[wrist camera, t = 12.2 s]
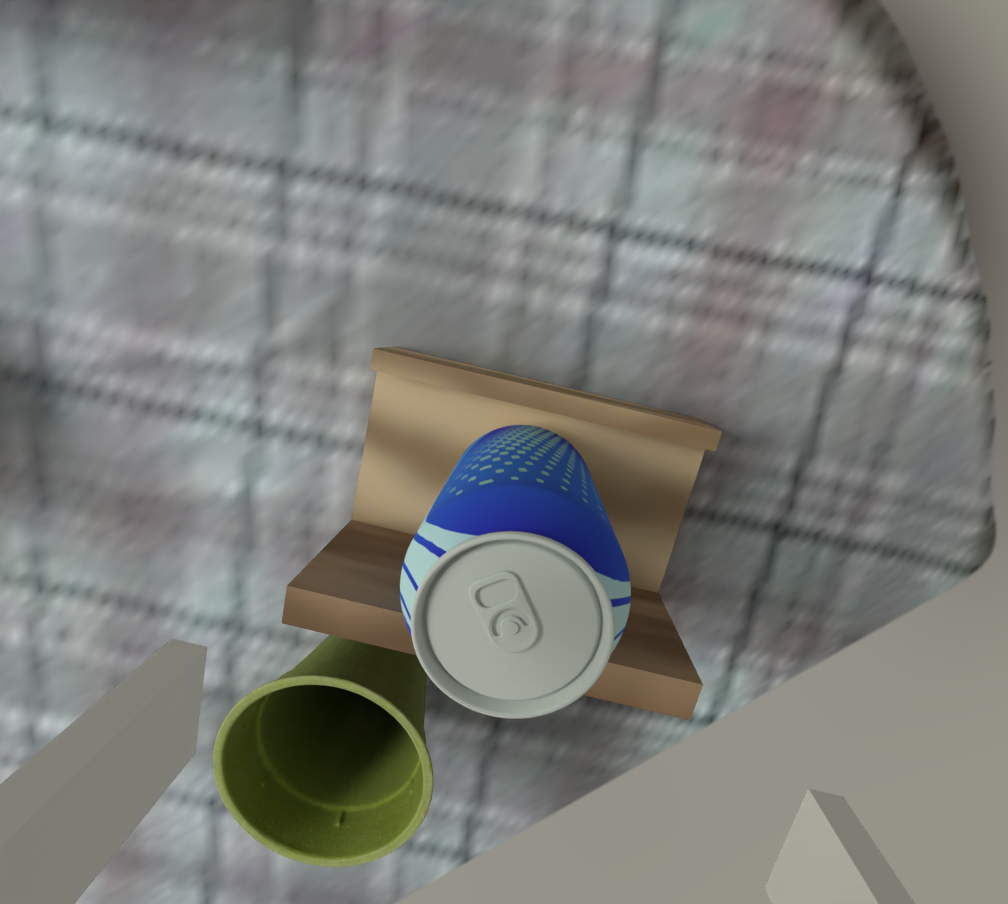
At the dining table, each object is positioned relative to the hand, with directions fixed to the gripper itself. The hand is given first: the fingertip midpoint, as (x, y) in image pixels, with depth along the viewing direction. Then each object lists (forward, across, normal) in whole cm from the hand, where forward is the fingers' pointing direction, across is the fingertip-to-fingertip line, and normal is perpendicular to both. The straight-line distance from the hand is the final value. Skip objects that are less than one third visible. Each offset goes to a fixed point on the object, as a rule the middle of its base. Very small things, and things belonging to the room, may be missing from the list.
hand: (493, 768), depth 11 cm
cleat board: (+25, 0, 0) cm, 25 cm away
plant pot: (+25, -7, -16) cm, 30 cm away
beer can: (+22, 0, 0) cm, 22 cm away
